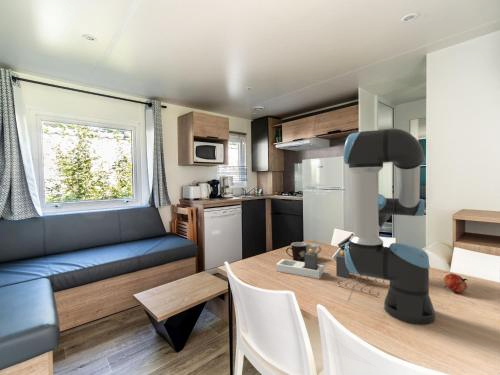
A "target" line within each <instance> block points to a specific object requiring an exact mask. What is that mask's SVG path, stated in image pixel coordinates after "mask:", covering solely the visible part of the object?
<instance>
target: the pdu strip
mask: <svg viewBox="0 0 500 375" xmlns="http://www.w3.org/2000/svg"><path fill="white" fill-rule="evenodd" d="M324 267H325V266H324V265H323V264H318V269H317V270H312V269H306V268H305V262H299V261H293V259H285V258H282V259H281V260H279V261H278V262H277V263H275V271H276V272H280V273H283V274H284V273H286V274H291V275H295V276H302V277H305V278H313V279H318V280H320V278H321V277H322V275H323V274H324V273H325V271H324V270H325V269H324Z"/></svg>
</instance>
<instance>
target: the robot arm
mask: <svg viewBox="0 0 500 375" xmlns="http://www.w3.org/2000/svg"><path fill="white" fill-rule="evenodd" d="M343 147H344V148H343V162H344V164H346V165H348V169H349V171H351V172H352V174H353V176H352V178H353V179H352V183H353V184H352V185H353V187H352V192H353V193H352V195H353V197H352V198H353V201H352V204H353V233H351V234H350V235H349V236H347V237H346V238H345V239H343V240H342V241H340V242H339V243H337V246H338V249H336V251H335V253H334V254H333V255H332V256H331V258H332V259H333V260H334V261H335V262H336V256H337V255H338V254H341V251H345V252H344V254H345V262H346V266H347V269H348V270H349V273H352V274H355V275H359V276H361V277H367V278H368V277H369V278H375V279H379V280H385V281H389V288H388V291H387V293H386V295H385V298H384V301H383V302H384V304H383V308H384V310H385V311H386V313H388V314H389V315H390V316H392V317H393V318H395V319H398V320H399V321H403V322H406V323H409V324H413V325H414V324H416V325H428V324H432V323H434V322H435V321H436V310H435V308H434V304H433V303H432V300H431V297H430V291H429V290H430V283H429V282H430V276H429V274H430V269H431V268H430V267H431V266H430V256H429V255H428V253H427V252H426V251H425V250H424V249H422V248H419V247H417V246H414V245H411V244H405V243H401V242H400V243H398V242H392V243H390V245H389V246H384V241H383V239H381V237H380V236H379V232H380V229H382V227H383V226H384V224H385V223H386V222H387V221H388V219H390V217H392V215H393V216H394V215H395V216H409V217H410V216H411V217H423V216H424V215H425V210H426V208H425V207H426V206H425V201H426V200H424V199H423V198H420V194H421V193H420V189H421V188H420V187H421V185H420V184H421V182H420V180H421V176H420V175H421V165H422V164H423V162H424V159H425V158H424V156H425V155H424V154H425V152H424V150H423V147H422V145H421V144H420V142H419V140H418V139H417V138H416V137H415V136H414V135H412V134H411V133H410V132H408V131H406V130H403V129H400V128H388V129H375V130H366V131H364V130H363V131H358V132H353V133H350V134H349V135H348V136H347V137H346V140H345V143H344V146H343ZM384 163H392V165H394V167H395V169H396V181H397V182H396V183H397V193H398V195H397V196H398V197H397V198H395V197H393V198H392V197H390V198H389V197H386V196H384V195H383V194H380V193H379V172H380V171H382V169H384Z"/></svg>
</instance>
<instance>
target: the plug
mask: <svg viewBox="0 0 500 375" xmlns="http://www.w3.org/2000/svg"><path fill="white" fill-rule="evenodd" d="M344 252H345V250H344V251H341V254H338V255H337V256H336V261H335V262H336V263H335V264H336V267H335V268H336V277H341V278H346V279H348V278H349V275H350V271H349V270H348V269H347V266H346V262H345V254H344Z"/></svg>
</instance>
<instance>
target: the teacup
mask: <svg viewBox="0 0 500 375" xmlns="http://www.w3.org/2000/svg"><path fill="white" fill-rule="evenodd" d="M306 244H307V245H306V253H307V252H309V249H313V252H315V253H317V255H318V254H319V253H320V252H322V247H321V246H320V245H315V244H314V243H306ZM317 248H319V250H317ZM316 250H317V251H316Z"/></svg>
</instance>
